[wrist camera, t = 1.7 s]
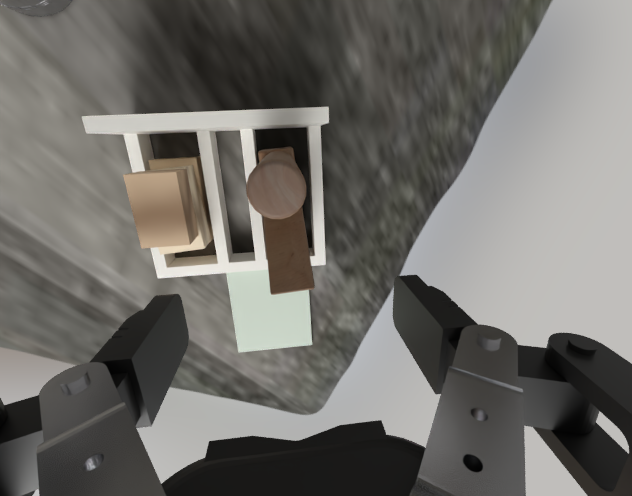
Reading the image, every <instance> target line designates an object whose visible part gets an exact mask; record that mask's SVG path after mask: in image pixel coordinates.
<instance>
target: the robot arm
mask: <svg viewBox="0 0 632 496" xmlns="http://www.w3.org/2000/svg"><path fill="white" fill-rule="evenodd" d="M71 1H72V0H0V4H1V5H3V6H6V7H8V8H11V9H13V10H15V11H17V12H20V13H23V14H26V15H30V16H40V17H42V16H49V15H53V14H56V13H58V12H60V11H62V10H63V9H64V8H66V7H67V6H68V5H69V4H70V3H71ZM393 320H394V324H395V327H396V329H397V331H398V332H399V334H400V336H401V338H402V339H403V341H404V342H405V344H406V346H407V348H408V349H409V351H410V352H411V354H412V356H413V358H414V359H415V361H416V362H417V364H418V366H419V368H420V369H421V371H422V372H423V374H424V376H425V377H426V379H427V381H428V382H429V384H430V386H431V387H432V389H433V391H434V392H435V394H441V396H440V400H439V403H438V407H437V411H436V414H435V418H434V421H433V424H432V428H431V431H430V435H429V438H428V442H427V445H426V448H425V447H423V446H421V445H419V444H417V443H414V442H412V441H409V440H407V439H404V438H400V437H396V436H391V435H386V432H385V430H384V427H383V424H382V421H371V422H363V423H355V424H347V425H340V426H337V427H335V428H332V429H329V430H327V431H324V432H321V433H319V434H316V435H313V436H311V437H308V438H305V439H303V440H299V441H291V440H283V439H274V438H266V437H258V436H248V437H240V438H232V439H224V440H216V441H209V445H208V449H207V453H206V457H205V458H203V459H201V460H198V461H196V462H194V463H192V464H190V465H188V466H187V467H185V468H183V469H181V470H180V471H178V472H177V473H175V474H174V475H173V476H171V477H170V478H169V479H167V480H166V481H165V482H163V483H162V484H161V483H160V480H159V478H158V476H157V474H156V472H155V469H154V467H153V465H152V462H151V460H150V458H149V456H148V454H147V452H146V449H145V447H144V445H143V442H142V440H141V438H140V436H139V433H138V431H137V429H136V428H140V427H148V426H152V424H153V421H154V420H155V417H156V415H157V413H158V411H159V409H160V406H161V404H162V402H163V400H164V397H165V395H166V393H167V391H168V389H169V387H170V384H171V382H172V380H173V378H174V376H175V373H176V371H177V369H178V367H179V365H180V362H181V360H182V358H183V356H184V354H185V351H186V349H187V346H188V339H189V335H188V328H187V323H186V319H185V314H184V309H183V304H182V300H181V297H180V295H179V294H171V295H159V296H155V297H154V298H153V299H152V300H151V302H150V303H149V304H148V305H147V306H146V308H145V309H144V310H141V311H139V312H137V313H135V314H134V315H132V316H131V317H129V318H128V319H126V321H125V322H124V323H123V324H122V325H121V326H120V328H119V330H118V331H116V332H115V333H114V335H113V336H112V339H109V340H108V341H107V343H106V344H105V345H104V346H103V347H102V348H101V350H100V351H99V352H98V353H97V354H96V355H95V357H94V358H93V359H92V360H91V361H90V362H89V363H85V364H81V365H77V366H75V367H72V368H69V369H67V370H65V371H63V372H61V373H60V374H58V375H56V376H55V377H53V378H52V379H51V380H49V381H48V382H47V383H46V384H45V385H44V386H43V388H42V389H41V391H40V393H39V395H38V396H35V397H32V398H28V399H25V400H21V401H18V402H14V403H11V404H8V405H4V404H3V402H2V400H1V398H0V496H32V495H33V494H34V492H35V490H37V489H39V494H40V496H526V495H525V494H526V493H525V447H524V425H525V426H531V427H533V428H534V429H535V430H536V431H537V433H538V434H539V435H540V436H541V438H542V439H543V440H544V441H545V443H546V444H547V445H548V446H549V448H550V449H551V450H552V451H553V453H554V454H555V455H556V456H557V458H558V459H559V460H560V461H561V463H562V464H563V465H564V466H565V468H566V469H567V470H568V471H569V473H570V474H571V475H572V476H573V478H574V479H575V480H576V481H577V483H578V484H579V485H580V486H581V488H582V489H583V490H584V491H585V493H586V494H587V495H588V496H632V364H631V363H630V362H628V361H627V360H625V359H624V358H622V357H621V356H619V355H618V354H616V353H615V352H614V351H612V350H611V349H609V348H608V347H606V346H605V345H603V344H601V343H599V342H597V341H595V340H592V339H590V338H587V337H584V336H581V335H577V334H571V333H556V334H553V335H551V336H550V337H549V340H548V344H547V348H540V347H531V346H521V345H518V344H517V342H516V340H515V339H514V338H513V337H512V336H511V335H509V334H508V333H506V332H504V331H502V330H500V329H498V328H495V327H491V326H487V325H478V324H477V323H476V322H475V321H474V320H473V319H471V318H470V317H469V316H468V315H467V314H466V313H465V312H464V311H463V310H462V309H461V308H460V307H458V305H457V304H456V303H455V302H453V301H451V299H450V298H449V297H448V296H447V295H446V294H445V293H444V292H443V291H441V290H439V289H437V288H434V287H432V286H427V285H426V284H425V283H424V282H423V281H422V280H421V279H420V278H419V277H418V276H417V275H407V276H397V277H396V278H395V281H394V299H393ZM599 411H600V412H602V413H603V414H604V415H605V416H606V417H607V418H608V419H609V420H610V421H611V422H613V423H614V424H615V425H616V426H617V427H618V428H619V429H620V430H621V432H622V433H623V434H624V436H625V438H626V440H627V442H628V445H629V454H628V453H627V452H626V451H625V450H624V449H623V448H622V447H621V446H620V445H618V443H617V442H616V441H615V440H613V439H612V438H611V437H610V436H609V435H608V434H607V433H606V432H605V431H604V430H603V429H602V428H601V427H600V426H599V425H598V424H597V423H596V419H597V417H598V414H599Z"/></svg>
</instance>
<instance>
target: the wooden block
mask: <svg viewBox="0 0 632 496" xmlns="http://www.w3.org/2000/svg"><path fill="white" fill-rule="evenodd" d="M258 156H259V164H258V165H257V166H256V167H255V168H254V169H253V171H252V172H251V173H250V175H249V177H248V181H247V184H246V189H247V196H248V199H249V202H250V204H251V205H252V206H253V208H254V209H255V210H256V211H257V212H258V213H260V214H261V215H262V216H263V218H264V229H265V240H266V250H267V261H268V272H269V283H270V293H271V295H276V294H283V293H290V292H297V291H304V290H311V289H314V286H315V285H314V279H313V272H312V266H311V260H310V253H309V247H308V240H307V234H306V228H305V221H304V215H303V208H302V205H303V203H304V201H305V198H306V189H307V186H306V182H305V179H304V176H303V174H302V173H301V171H300V169H299V168H298V166H297V164H296V162H295V157H294V150H293V148H292V147H290V146H288V147H279V148H271V149H262V150H261V151H259V152H258Z"/></svg>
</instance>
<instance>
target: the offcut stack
mask: <svg viewBox="0 0 632 496" xmlns="http://www.w3.org/2000/svg"><path fill="white" fill-rule="evenodd" d="M148 161H149V166H150V170H148V171H139V172H134V173H130V174H125V175H123V176H124V180H125V184H126V188H127V192H128V196H129V200H130V204H131V208H132V212H133V216H134V220H135V224H136V228H137V232H138V236H139V240H140V244H141V248H155V247H158V249H159V252H160V255H162V254H170V253H177V252H184V251H191V250H198V249H205V248H206V246H207V245H208V243H210V242H211V241H212V239H213V238H214V236H213V230H212V224H211V217H210V211H209V205H208V199H207V193H206V187H205V181H204V175H203V168H202V162H201V157H182V158H162V159H154V160H148Z"/></svg>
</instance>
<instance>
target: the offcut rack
mask: <svg viewBox="0 0 632 496" xmlns="http://www.w3.org/2000/svg"><path fill="white" fill-rule="evenodd" d="M82 119H83V123H84V127H85V130H86V133H97V134H124V138H125V142H126V147H127V151H128V155H129V159H130V163H131V168H132V172H133V173H134V172H139V171H148V170H150V166H149V161H148V160H154V154H153V150H152V145H151V140H150V136H149V134H166V133H189V132H197V138H198V144H199V150H200V156H201V162H202V168H203V175H204V181H205V187H206V193H207V199H208V205H209V211H210V217H211V224H212V230H213V236H214V242H215V248H216V254H217V255H208V256H195V257H182V258H175V253H170V254H162V255H160V252H159V249H158V247H155V248H151V252H152V256H153V260H154V264H155V268H156V272H157V277H158V278H169V277H182V276H194V275H206V274H218V273H231V272H243V271H255V270H268V261H267V250H266V240H265V229H264V218H263V216H262V215H261V214H260V213H258V212H257V211H256V210H255V209H254V208H253V206H252V205H251V204H250V202H249V209H250V217H251V226H252V234H253V242H254V251H255V252H248V253H234V254H233V251H232V244H231V237H230V230H229V223H228V217H227V210H226V203H225V196H224V189H223V182H222V175H221V168H220V161H219V154H218V147H217V140H216V133H215V131H234V130H240V133H241V141H242V150H243V158H244V167H245V175H246V184H247V181H248V177H249V175H250V173H251V172H252V171H253V169H254V168H255V167H256V166H257V165H258V155H257V145H256V136H255V130H256V129H279V128H302V127H306V128H307V148H308V167H309V187H310V207H311V226H312V246H313V248H309V253H310V260H311V266H317V265H326V261H325V234H324V207H323V180H322V153H321V125H324V124H327V123H329V107H310V108H284V109H258V110H233V111H207V112H182V113H156V114H130V115H105V116H82ZM248 200H249V199H248Z"/></svg>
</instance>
